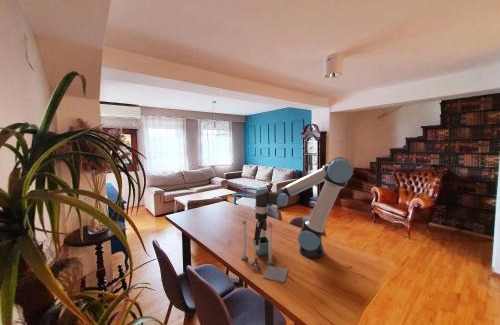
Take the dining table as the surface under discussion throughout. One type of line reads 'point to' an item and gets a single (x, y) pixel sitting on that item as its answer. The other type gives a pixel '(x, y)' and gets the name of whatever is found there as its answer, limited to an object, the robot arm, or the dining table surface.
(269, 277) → the tile
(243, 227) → the post
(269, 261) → the post
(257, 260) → the bent rail
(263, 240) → the flower pot
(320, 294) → the dining table surface
